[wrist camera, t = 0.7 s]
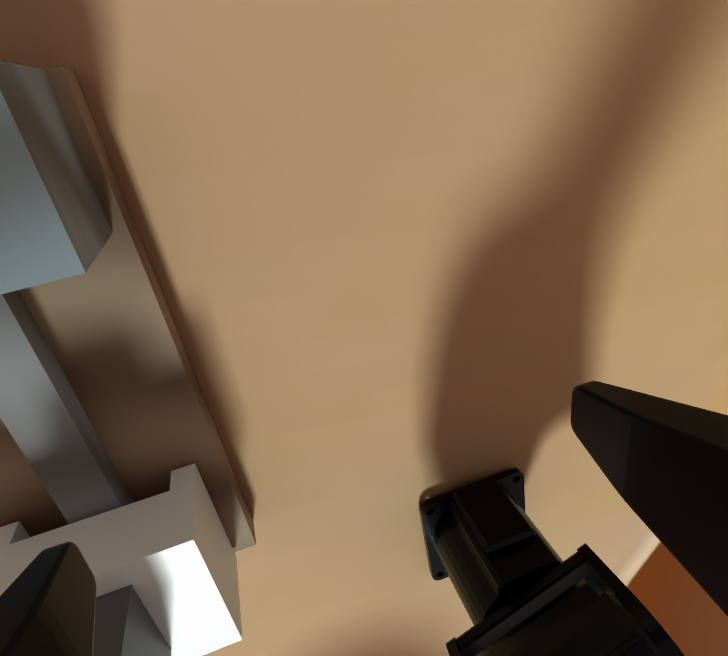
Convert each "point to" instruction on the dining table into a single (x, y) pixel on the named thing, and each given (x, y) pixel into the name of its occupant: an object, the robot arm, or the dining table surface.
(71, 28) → the dining table surface
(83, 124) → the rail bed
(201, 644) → the carriage
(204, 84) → the dining table surface
